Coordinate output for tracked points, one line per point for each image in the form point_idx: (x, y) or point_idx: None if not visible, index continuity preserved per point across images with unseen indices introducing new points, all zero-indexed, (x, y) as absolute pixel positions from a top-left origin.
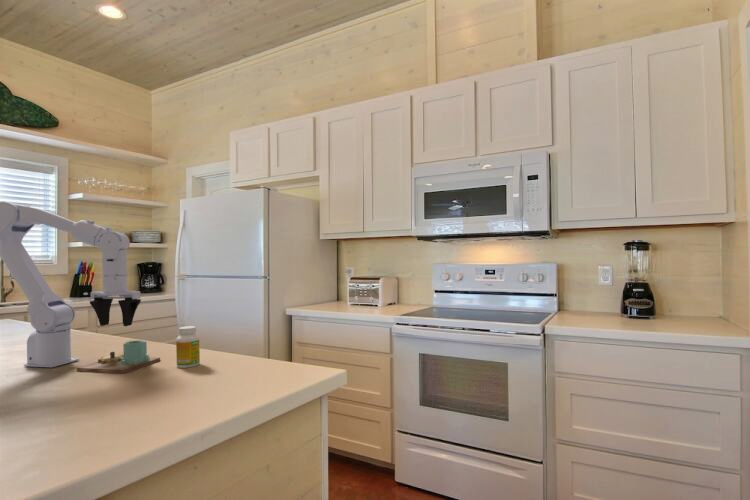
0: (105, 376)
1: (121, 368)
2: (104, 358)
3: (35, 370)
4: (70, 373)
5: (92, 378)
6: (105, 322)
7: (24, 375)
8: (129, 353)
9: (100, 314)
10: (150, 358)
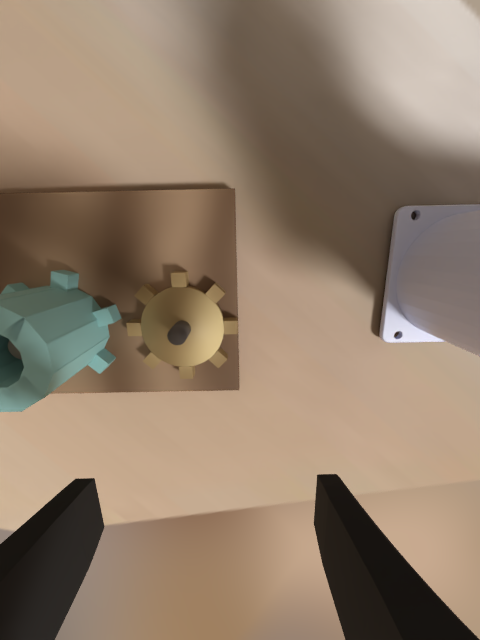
0: (20, 141)
1: (11, 216)
2: (202, 306)
3: (443, 164)
4: (227, 152)
5: (44, 99)
6: (323, 523)
7: (421, 76)
8: (8, 293)
9: (374, 594)
10: None
